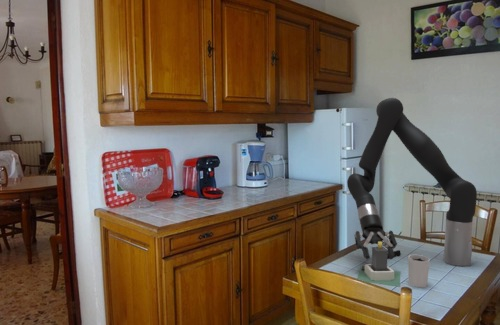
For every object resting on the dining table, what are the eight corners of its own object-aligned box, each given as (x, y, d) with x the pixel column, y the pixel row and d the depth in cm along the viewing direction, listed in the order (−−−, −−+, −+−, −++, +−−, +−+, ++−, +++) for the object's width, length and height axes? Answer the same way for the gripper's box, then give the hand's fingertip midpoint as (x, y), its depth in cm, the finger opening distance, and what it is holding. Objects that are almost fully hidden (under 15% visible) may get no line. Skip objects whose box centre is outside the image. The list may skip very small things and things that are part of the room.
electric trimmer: (403, 258, 160) (403, 251, 160) (380, 265, 152) (380, 257, 152) (395, 255, 164) (395, 248, 163) (372, 262, 155) (372, 255, 155)
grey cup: (404, 282, 135) (405, 254, 134) (424, 283, 134) (425, 255, 133) (410, 290, 128) (411, 261, 127) (431, 291, 128) (432, 261, 127)
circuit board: (399, 274, 142) (400, 270, 142) (399, 289, 129) (399, 285, 129) (360, 269, 147) (360, 265, 147) (356, 283, 134) (356, 278, 134)
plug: (381, 273, 140) (383, 240, 139) (386, 278, 136) (388, 243, 135) (371, 273, 140) (372, 240, 138) (375, 278, 136) (376, 243, 134)
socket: (385, 271, 142) (385, 263, 142) (394, 280, 134) (395, 272, 134) (363, 271, 141) (364, 263, 141) (371, 280, 134) (372, 272, 133)
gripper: (353, 213, 144) (363, 254, 134) (391, 213, 145) (403, 253, 134) (348, 224, 150) (357, 263, 139) (384, 223, 150) (396, 262, 140)
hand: (380, 258), depth 137 cm, fingers open, 8 cm apart
